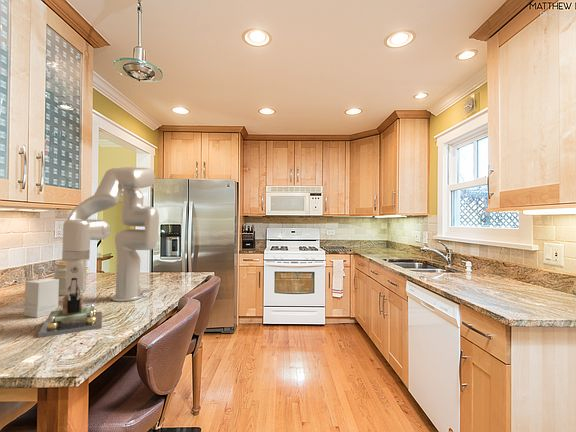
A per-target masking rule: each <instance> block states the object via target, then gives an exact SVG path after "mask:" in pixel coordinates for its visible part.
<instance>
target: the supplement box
mask: <svg viewBox="0 0 576 432" xmlns="http://www.w3.org/2000/svg"><path fill="white" fill-rule="evenodd" d="M24 285H25V288H24V289H25V290H24V307H23V308H24V312H23V313H24V314H23V316H24V317H31V318H41V317H44V316H49V315H50V313H51V311H55V310H56V308H59V295H58V294H59V279H54V278H47V277H46V278H38V279H34V280H28V281H25V284H24Z"/></svg>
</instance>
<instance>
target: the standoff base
mask: <svg viewBox="0 0 576 432" xmlns="http://www.w3.org/2000/svg"><path fill="white" fill-rule="evenodd" d="M93 306H94V307H95V305H94V303H91V304H90V307H93ZM59 309H60V308H59V307H58V308H56V310H55V311H59ZM97 310H98V309H97V308H94V315H93V311H90V315H88V316H86V317H85V318H78V319H70V320H63V321H55V320H54V318H55V316H51V320H50V321H48V317H47V318H46V319H45V321H44V322H43V324H42V325H41V328H40V329H39V331H38V333H37V338H45V337H50V336H52V337H53V336H58V335H64V334H69V333H77V332H84V331H91V330H96V329H102V327H103V326H102V324H103V323H102V321H103V319H102V318H103V314H102V313H103V312H102V311H97Z"/></svg>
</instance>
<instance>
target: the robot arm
mask: <svg viewBox="0 0 576 432" xmlns="http://www.w3.org/2000/svg"><path fill="white" fill-rule="evenodd" d="M155 179H156V175H155V172H154V171H153V170H152V169H151V168H149V167H127V166H125V167H114V168H109V169H108V170H106V171H105V173H104V174H103V176H102V179H101V181H100V182H99V185H98V187H97V188H96V190H95V192H94V194H93V195H91V196H90V197H88V198H86V199H85V200H83V201H82V202H80V203H79V204H78V205H76V206H75V207H74V208H73V209H72V210H71V212H70V213H69V215H68V217H67V219H66V220H65V221H64V222H63V225H62V226H63V228H62V251H61V252H62V253H61V254H62V255H61V261H64V262H66V291H68V292H69V295H68V296H69V300H68V308H67V313H73V312H79V310H80V299H79V295H81V293H80V289H82V290H84V289H85V282H86V283H87V275H86V274H87V269H86V267H87V263H86V262H87V261H90V250H91V249H90V248H91V246H90V245H91V241H101V240H105V239H106V238H107V237H109V236H110V234H111V231H112V230H111V229H112V228H111V226H110V224H109V223H108V222H107V221H106V220H103V219H88V218H90V217H91V216H93V215H95V214H98V213H99V212H103V211H106V210H109V209H111V208H113V207H116V206H117V205H118V203H119V201H120V199H121V197H122V208H121V215H120V216H121V219H120V220H121V224H123V226H126V227H136V229H135V228H127V229H121V230H118V232H117V233H116V234H115V237H114V244H115V249H116V273H115V275H116V276H115V281H116V282H115V294H114V295H112V296H111V300H112V301H114V302H130V301H136V300H140V299H142V298H143V297H144V293H145V294H149V293H151V288H149V287H148V288H147V287H144V288H142V287H141V285H140V281H141V280H140V278H141V277H140V276H141V257H140V255H139V253H138V252H137V251H152V250H153V249H155V248H156V247H157V243H158V235H159V233H158V232H159V224H160V223H159V222H160V221H159V219H160V214H159V212H158V209H157V208H155V207H154V206H146V205H145V206H144V194H143V192H142V191H141V190H140V189H144V188H148V187H151V186H152V185H153V184H154V183H155V181H156V180H155ZM137 227H142V228H143V227H144V229H137Z"/></svg>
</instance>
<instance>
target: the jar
mask: <svg viewBox="0 0 576 432" xmlns="http://www.w3.org/2000/svg"><path fill="white" fill-rule="evenodd" d="M87 269H88V267H87V266H86V270H87ZM53 271H54V275H53V279H59V294H58V296H69V292H68V291H66V262H64V261H62V260H61V261H59V262H58V263H56V267H55V268H54V269H53ZM87 275H88V274H87V273H86V276H87ZM86 290H87V281H86V282H85V289H84V290H82V289H80V294H81V293H85V292H86Z"/></svg>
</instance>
